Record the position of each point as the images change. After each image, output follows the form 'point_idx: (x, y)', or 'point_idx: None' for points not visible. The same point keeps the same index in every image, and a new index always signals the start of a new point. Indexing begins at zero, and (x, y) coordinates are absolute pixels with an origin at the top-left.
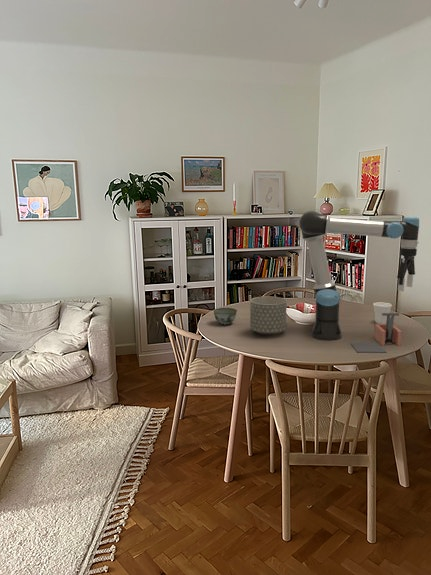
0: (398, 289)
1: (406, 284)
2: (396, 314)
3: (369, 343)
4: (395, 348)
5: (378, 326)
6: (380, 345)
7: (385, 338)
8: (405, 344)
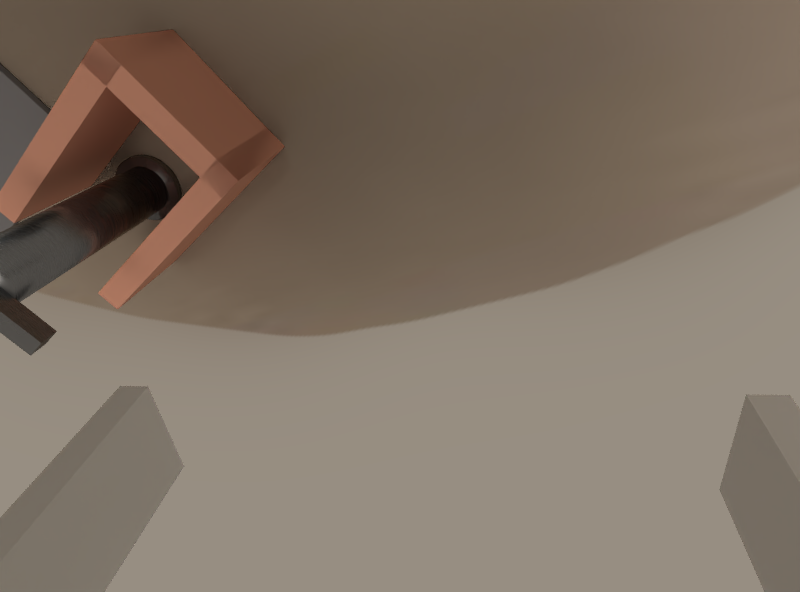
0: (110, 413)
1: (769, 438)
2: (15, 333)
3: (6, 99)
4: (104, 256)
5: (62, 117)
6: None
7: (114, 176)
8: (215, 275)
